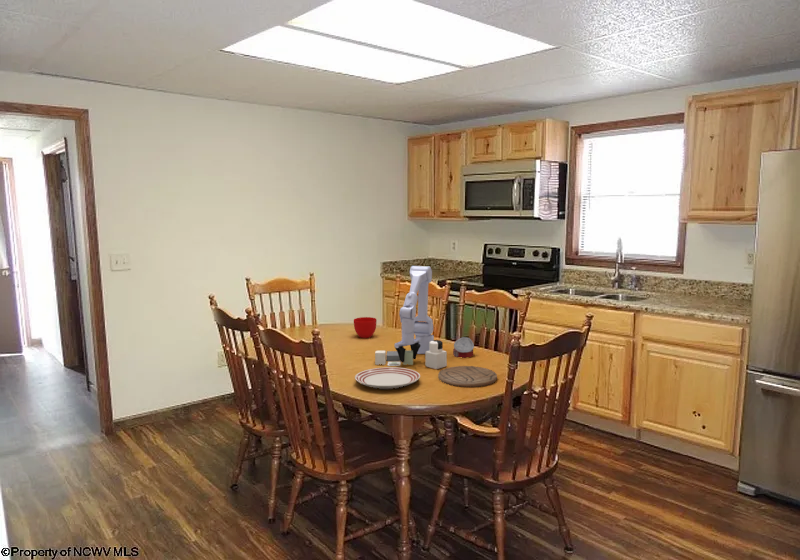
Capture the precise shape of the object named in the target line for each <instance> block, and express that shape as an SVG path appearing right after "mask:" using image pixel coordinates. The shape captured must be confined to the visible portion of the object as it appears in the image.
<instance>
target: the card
mask: <svg viewBox="0 0 800 560" xmlns="http://www.w3.org/2000/svg"><path fill="white" fill-rule="evenodd" d="M401 364H402V362H401V361H387V367H401Z"/></svg>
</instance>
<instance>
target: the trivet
mask: <svg viewBox="0 0 800 560" xmlns="http://www.w3.org/2000/svg"><path fill="white" fill-rule="evenodd" d="M437 375H438V376H437V378H438V381H440V380H441V381H442V382H441V381H440V382H441V383H443V382H444V383H443V384H445V383H446V385H448V384H449V385H448V386H452V385H453V386H452V387H458V386H459V387H460V388H481V386H482V387H487V386H490V384H491V385H493V384H495V383H496V382H497V381H496V380H497V379H498V378H497V376H498V374H497V373H496V372H495V371H493V370H492V369H488V368H485V367H481V366H480V367H479V366H473V365H457V366H451V367H446V368H443V369H440V371H439V372H438V374H437ZM495 381H496V382H495ZM494 382H495V383H494ZM492 383H493V384H492ZM459 387H458V388H459Z"/></svg>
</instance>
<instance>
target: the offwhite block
mask: <svg viewBox="0 0 800 560" xmlns="http://www.w3.org/2000/svg"><path fill="white" fill-rule="evenodd" d="M386 355H387V351H386V350H375V352H374V358H375V359H374V360H375V361H374V363H375V364H374V365H377V366H378V365H379V364H380V366H381V364H382V365H383V366H385V365H386Z"/></svg>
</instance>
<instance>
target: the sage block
mask: <svg viewBox="0 0 800 560" xmlns="http://www.w3.org/2000/svg"><path fill="white" fill-rule="evenodd" d="M407 364H408V365H407ZM402 365H406V366H409V365H410V366H413V365H414V359H413V350H411V349H408V350H407V349H406V350H405V357H404V362H402Z"/></svg>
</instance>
